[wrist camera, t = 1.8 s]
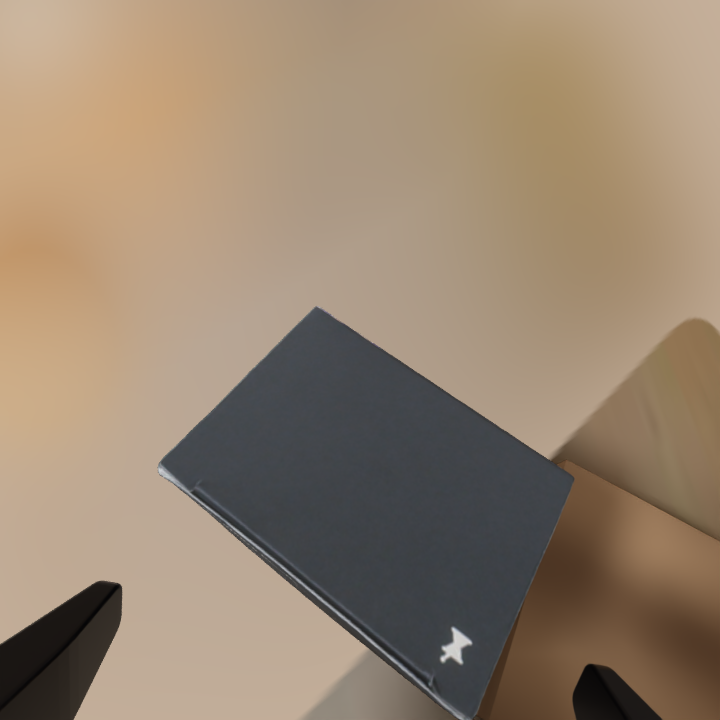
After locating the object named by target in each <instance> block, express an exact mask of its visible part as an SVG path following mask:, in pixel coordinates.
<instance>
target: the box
mask: <svg viewBox="0 0 720 720" xmlns="http://www.w3.org/2000/svg"><path fill="white" fill-rule="evenodd" d="M158 473H159V474H160V476H162V477H164V478H166V479H167V480H169V481H170V482H172V483H173V484H174V485H175V486H177V487H178V488H179V489H180V490H181V491H183V492H184V493H185V494H187V495H188V496H189V497H190V498H191V499H192V500H194V501H195V502H196V503H197V504H199V505H200V506H201V507H202V508H203V509H204V510H206V511H207V512H208V513H209V514H210V515H211V516H212V517H214V518H215V519H216V520H217V521H218V522H219V523H221V524H222V525H223V526H224V527H225V528H226V529H227V530H228V531H229V532H230V533H232V534H233V535H234V536H235V537H236V538H237V539H238V540H240V541H241V542H242V543H243V544H244V545H245V546H246V547H248V548H249V549H250V550H251V551H252V552H254V553H255V554H256V555H257V556H258V557H260V558H261V559H262V560H263V561H264V562H265V563H266V564H268V565H269V566H270V567H271V568H272V569H274V570H275V571H276V572H277V573H278V574H279V575H281V576H282V577H283V578H284V579H285V580H286V581H288V582H289V583H290V584H291V585H292V586H294V587H295V588H296V589H297V590H299V591H300V592H301V593H302V594H303V595H304V596H305V597H307V598H308V599H309V600H311V601H312V602H313V603H314V604H315V605H316V606H318V607H319V608H320V609H321V610H323V611H324V612H325V613H326V614H327V615H329V616H330V617H331V618H332V619H333V620H334V621H336V622H337V623H338V624H339V625H341V626H342V627H343V628H344V629H345V630H347V631H348V632H349V633H350V634H351V635H353V636H354V637H355V638H356V639H358V640H359V641H360V642H361V643H363V644H364V645H365V646H366V647H368V648H369V649H370V650H371V651H373V652H374V653H375V654H376V655H377V656H379V657H380V658H381V659H382V660H383V661H385V662H386V663H387V664H388V665H390V666H391V667H392V668H394V669H395V670H396V671H397V672H398V673H399V674H401V675H402V676H403V677H404V678H405V679H407V680H408V681H410V682H411V683H412V684H413V685H415V686H416V687H417V688H419V689H420V690H421V691H422V692H423V693H425V694H426V695H427V696H428V697H429V698H431V699H432V700H433V701H434V702H435V703H437V704H438V705H439V706H441V707H442V708H443V709H444V710H446V711H448V712H449V713H450V714H452V715H453V716H454V717H455V718H457V719H459V720H471V719H474V717H475V715H476V714H477V712H478V710H479V707H480V704H481V701H482V699H483V697H484V694H485V691H486V688H487V686H488V684H489V681H490V679H491V677H492V674H493V672H494V669H495V667H496V664H497V662H498V660H499V658H500V655H501V653H502V650H503V648H504V645H505V643H506V641H507V638H508V636H509V634H510V632H511V629H512V627H513V625H514V623H515V620H516V618H517V616H518V613H519V611H520V609H521V606H522V604H523V602H524V599H525V597H526V595H527V593H528V590H529V588H530V586H531V584H532V581H533V579H534V576H535V574H536V571H537V569H538V567H539V564H540V562H541V560H542V558H543V556H544V553H545V551H546V549H547V547H548V544H549V542H550V540H551V537H552V535H553V533H554V530H555V528H556V525H557V523H558V520H559V518H560V516H561V513H562V511H563V508H564V506H565V503H566V501H567V499H568V496H569V494H570V491H571V488H572V485H573V483H574V480H575V478H574V477H573V476H572V475H571V474H570V473H568V472H567V471H565V470H564V469H562V468H561V467H559V466H558V465H556V464H554V463H553V462H551V461H550V460H548V459H547V458H545V457H544V456H542V455H540V454H539V453H538V452H536V451H534V450H533V449H531V448H530V447H528V446H527V445H525V444H524V443H522V442H521V441H519V440H518V439H516V438H515V437H513V436H512V435H510V434H509V433H508V432H506V431H504V430H503V429H501V428H499V427H498V426H497V425H496V424H494V423H493V422H491V421H489V420H488V419H486V418H485V417H483V416H482V415H480V414H479V413H477V412H476V411H474V410H473V409H471V408H470V407H468V406H467V405H466V404H464V403H462V402H461V401H459V400H458V399H456V398H454V397H453V396H451V395H450V394H449V393H447V392H446V391H444V390H443V389H441V388H440V387H438V386H437V385H435V384H434V383H432V382H431V381H430V380H428V379H426V378H425V377H424V376H422V375H420V374H419V373H417V372H415V371H414V370H413V369H411V368H410V367H408V366H407V365H405V364H404V363H402V362H401V361H399V360H398V359H396V358H395V357H393V356H392V355H390V354H388V353H387V352H386V351H384V350H383V349H381V348H380V347H378V346H377V345H375V344H374V343H372V342H371V341H369V340H368V339H366V338H365V337H363V336H362V335H360V334H359V333H357V332H356V331H354V330H352V329H351V328H349V327H348V326H347V325H345V324H344V323H342V322H341V321H339V320H338V319H337V318H335V317H334V316H332V315H331V314H329V313H327V312H326V311H325V310H323V309H322V308H321V307H319V306H316V307H314V308H313V309H312V310H311V311H310V312H309V313H308V314H307V315H306V316H305V317H304V318H303V319H302V320H301V321H300V322H299V323H298V324H297V325H296V326H295V327H294V328H293V329H292V330H291V331H290V332H289V333H288V334H287V335H286V336H285V337H284V338H283V339H282V340H281V341H280V342H279V343H278V344H277V345H276V346H275V347H274V348H273V349H272V350H271V351H270V352H269V353H268V354H267V355H266V356H265V357H264V358H263V359H262V360H261V361H260V362H259V363H258V364H257V365H256V366H255V367H254V368H253V369H252V370H251V371H250V372H249V373H248V374H247V375H246V376H245V377H244V378H243V379H242V380H241V381H240V382H239V384H238V385H236V386H235V387H234V388H233V389H232V391H230V393H229V394H228V395H227V396H226V397H225V398H224V399H223V400H222V401H221V402H220V403H219V404H218V405H217V406H216V407H215V408H214V409H213V410H212V411H211V412H210V413H209V414H208V415H207V416H206V417H205V418H204V419H203V420H202V421H200V422H199V423H198V424H197V425H196V426H195V427H194V428H193V430H191V431H190V432H189V433H188V434H187V435H186V436H185V437H184V438H183V439H182V440H181V441H180V442H179V443H178V444H177V445H176V446H175V447H174V448H173V449H172V450H171V451H170V452H169V453H168V454H167V455H165V456H164V457H163V459H162V460H161V461H160V463H159V465H158Z"/></svg>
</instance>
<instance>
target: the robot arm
mask: <svg viewBox="0 0 720 720" xmlns="http://www.w3.org/2000/svg"><path fill="white" fill-rule="evenodd" d="M121 615H122V586H121V585H120V584H118V583H114V582H108V581H98V582H96V583H94V584H92V585H91V586H89V587H87V588H86V589H85V590H83V591H81V592H80V593H78V594H77V595H75V596H74V597H72V598H71V599H69V600H67V601H66V602H64V603H63V604H61V605H60V606H59V607H57V608H55V609H54V610H52V611H51V612H49V613H48V614H46V615H44V616H43V617H41V618H40V619H38V620H37V621H35V622H34V623H32V624H31V625H29V626H28V627H26V628H24V629H23V630H21V631H20V632H18V633H17V634H15V635H14V636H12V637H11V638H9V639H8V640H6V641H4V642H3V643H1V644H0V720H74V718H75V716H76V713H77V712H78V710H79V708H80V706H81V704H82V702H83V699H84V697H85V695H86V693H87V691H88V689H89V687H90V685H91V683H92V681H93V679H94V677H95V675H96V673H97V671H98V669H99V667H100V665H101V663H102V661H103V659H104V657H105V655H106V653H107V651H108V649H109V647H110V645H111V643H112V641H113V638H114V636H115V634H116V632H117V630H118V628H119V625H120V621H121ZM572 703H573V709H574V713H575V717H576V720H663V719H662V718H661V717H660V716H659V715H658V714H657V713H656V712H655V711H654V710H653V709H652V708H651V707H650V706H649V705H648V704H647V703H646V702H645V701H644V700H643V699H642V698H641V697H640V696H639V695H638V694H637V693H636V692H635V691H634V690H633V689H632V688H631V687H630V686H629V685H628V684H627V683H626V682H625V681H624V680H623V679H622V678H621V677H620V676H619V675H618V674H617V673H616V672H615V671H614V670H613V669H611V668H610V667H608V666H603V665H598V664H592V663H591V664H587V665H586V666H585V667H584V669H583V671H582V674H581V676H580V678H579V680H578V682H577V684H576V687H575V689H574V691H573V696H572Z"/></svg>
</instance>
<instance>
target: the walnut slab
mask: <svg viewBox="0 0 720 720" xmlns="http://www.w3.org/2000/svg"><path fill="white" fill-rule="evenodd" d="M557 465H558V466H559V467H561V468H562V469H564V470H565V471H567V472H568V473H570V474H571V475H572V476H573V477H574V478H575V480H574V483H573V485H572V488H571V491H570V494H569V496H568V499H567V501H566V503H565V506H564V508H563V511H562V513H561V516H560V518H559V520H558V523H557V525H556V528H555V530H554V533H553V535H552V537H551V540H550V542H549V544H548V547H547V549H546V551H545V553H544V556H543V558H542V560H541V562H540V564H539V567H538V569H537V571H536V574H535V576H534V579H533V581H532V584H531V586H530V588H529V590H528V593H527V595H526V597H525V599H524V602H523V604H522V606H521V609H520V611H519V613H518V616H517V618H516V620H515V623H514V625H513V627H512V629H511V632H510V634H509V636H508V638H507V641H506V643H505V645H504V648H503V650H502V653H501V655H500V658H499V660H498V662H497V664H496V667H495V669H494V672H493V674H492V677H491V679H490V681H489V684H488V686H487V688H486V691H485V694H484V697H483V699H482V701H481V704H480V707H479V710H478V712H477V714H476V715H477V716H478V717H480V718H481V719H482V720H576V717H575V713H574V709H573V703H572V696H573V691H574V689H575V687H576V684H577V682H578V680H579V678H580V676H581V674H582V671H583V669H584V667H585V666H586V665H587V664H591V663H592V664H598V665H603V666H608V667H610V668H611V669H613V670H614V671H615V672H616V673H617V674H618V675H619V676H620V677H621V678H622V679H623V680H624V681H625V682H626V683H627V684H628V685H629V686H630V687H631V688H632V689H633V690H634V691H635V692H636V693H637V694H638V695H639V696H640V697H641V698H642V699H643V700H644V701H645V702H646V703H647V704H648V705H649V706H650V707H651V708H652V709H653V710H654V711H655V712H656V713H657V714H658V715H659V716H660V717H661V718H662V719H663V720H720V541H718V540H716V539H714V538H712V537H710V536H708V535H706V534H705V533H703V532H701V531H699V530H697V529H695V528H693V527H692V526H690V525H688V524H686V523H684V522H682V521H680V520H679V519H677V518H675V517H673V516H671V515H669V514H667V513H665V512H664V511H662V510H660V509H658V508H656V507H654V506H652V505H651V504H649V503H647V502H645V501H643V500H641V499H639V498H637V497H636V496H634V495H632V494H630V493H628V492H626V491H624V490H623V489H621V488H619V487H617V486H615V485H613V484H611V483H609V482H608V481H606V480H604V479H602V478H600V477H598V476H596V475H595V474H593V473H591V472H589V471H587V470H585V469H583V468H581V467H580V466H578V465H576V464H574V463H572V462H570V461H568V460H565V461H563V462H561V463H559V464H557Z"/></svg>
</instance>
